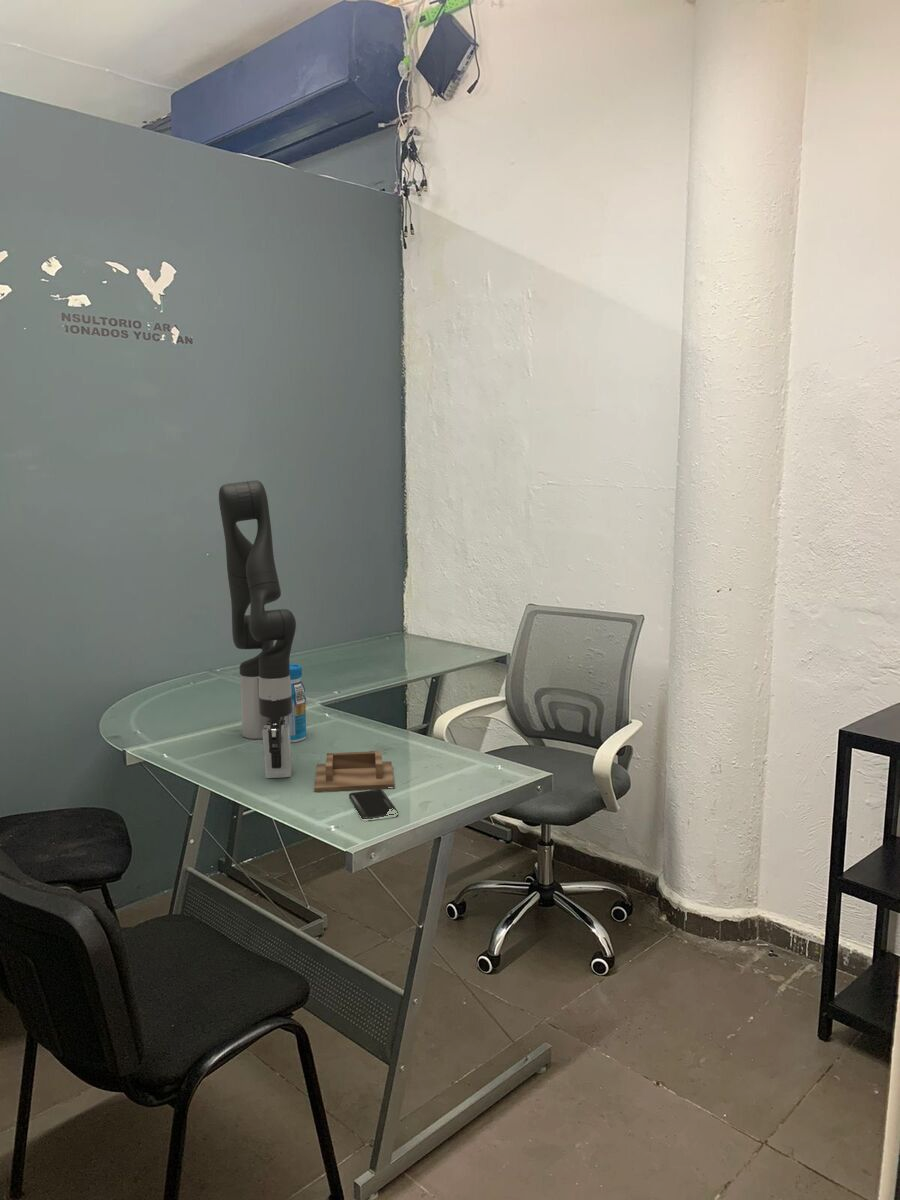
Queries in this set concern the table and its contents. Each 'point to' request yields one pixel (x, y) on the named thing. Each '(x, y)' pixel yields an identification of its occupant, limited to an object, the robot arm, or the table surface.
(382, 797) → the phone
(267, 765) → the skincare box
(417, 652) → the table surface
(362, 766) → the u rest
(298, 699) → the beverage bottle
